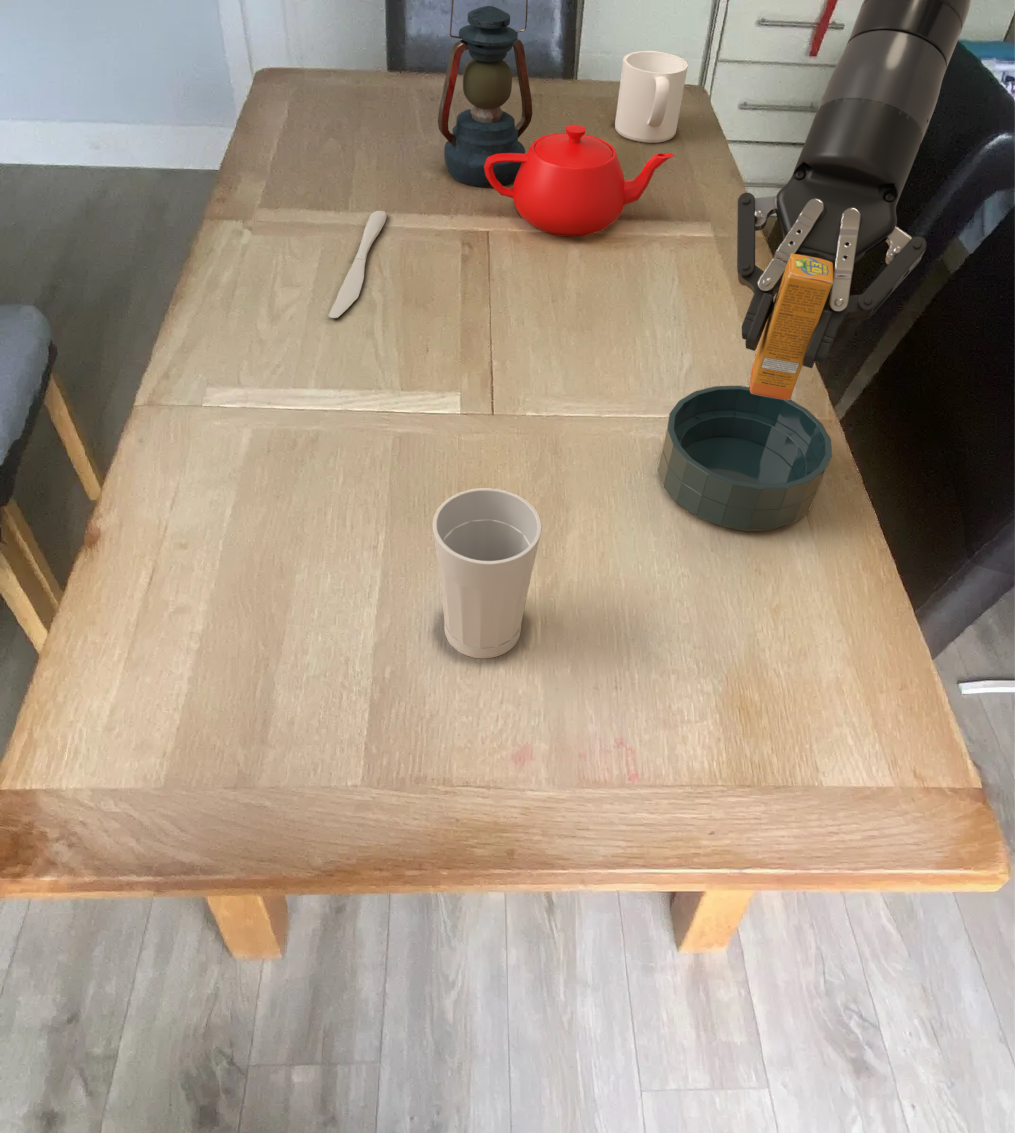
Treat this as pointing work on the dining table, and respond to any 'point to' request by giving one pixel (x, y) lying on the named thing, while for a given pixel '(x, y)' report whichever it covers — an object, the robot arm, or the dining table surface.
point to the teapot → (571, 182)
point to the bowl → (743, 458)
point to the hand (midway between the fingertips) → (779, 354)
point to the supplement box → (791, 326)
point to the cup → (485, 567)
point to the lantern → (485, 98)
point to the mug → (650, 96)
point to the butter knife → (358, 266)
